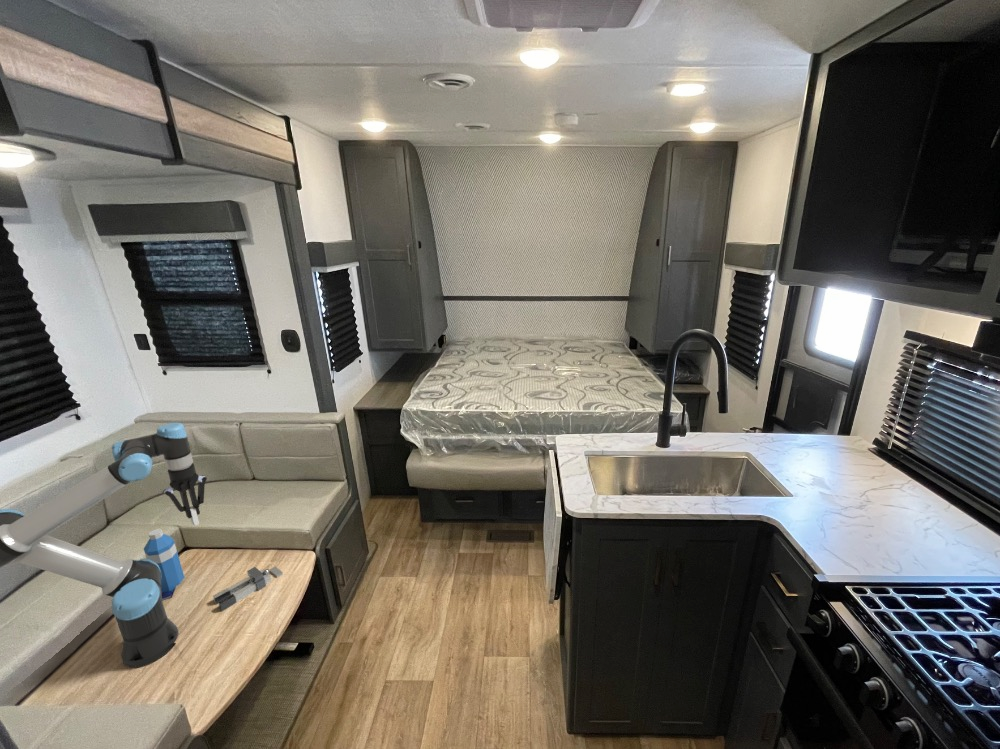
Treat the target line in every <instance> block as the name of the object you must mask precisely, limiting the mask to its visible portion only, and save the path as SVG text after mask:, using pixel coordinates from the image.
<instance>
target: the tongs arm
mask: <svg viewBox="0 0 1000 749" xmlns="http://www.w3.org/2000/svg"><path fill="white" fill-rule="evenodd" d="M259 571H260V572H262V573H263V576H264V575H266V574H267V573H268V574H269V575H270V576H271V574H270V569H269V568H266V569H265V568H262V569H261V570H259ZM252 582H254V580H253V579H251V578H250V577H249V576H247V577H246V578H244V579H242V580H241V581H238V582H236V583H235V584H233V585H231V586H229V587H226V588H225V589H223V590H221V591H220V592H219V591H218V592H217V593H216V594H213V595H212V597H213V600H214V603H215V605H219V604H218V602H220V601H222V600H223V599H225V598H227V597H228V596H230V595H232V594H234V593H235V592H237V591H239V590H240V589H242V588H244V587H245V586H247V585H249V584H251V583H252Z"/></svg>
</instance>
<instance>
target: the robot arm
mask: <svg viewBox="0 0 1000 749" xmlns="http://www.w3.org/2000/svg"><path fill="white" fill-rule="evenodd" d="M111 453H112V456H113V460H114V462H112V463H110V464H109V465H107V466H105V467H104V468H102V469H100V470H99V471H97V472H95V473H94V474H92V475H91V476H89V477H87V478H85V479H83V480H82V481H80V482H78V483H77V484H75V485H74V486H72V487H70V488H68V489H67V490H65V491H64V492H62V493H60V494H59V495H56V496H55V497H54V498H52V499H50V500H48V501H47V502H46V503H44V504H42V505H40V506H39V507H36V509H33V510H32V511H31V512H29V513H27V514H26V515H25V514H24V513H23V512H21V511H19V510H16V509H11V508H2V509H1V508H0V569H1V568H3V567H4V566H8V565H12V564H15V563H20V564H24V565H27V566H30V567H33V568H36V569H39V570H43V571H46V572H50V573H53V574H56V575H60V576H63V577H65V578H69V579H73V580H76V581H78V582H82V583H86V584H87V585H88V584H89V585H91V586H94V587H98V588H100V589H101V590H102V594H103V595H105V596H107V597H112V599H111V612H112V613H113V615H114V618H115V620H116V623H117V626H118V629H119V632H120V633H121V638H122V646H121V653H120V657H121V661H122V664H123V665H124V666H125V667H127V668H133V669H134V668H141V667H145V666H147V665H150V664H152V663H154V662H156V661H158V660H159V659H160V660H161V659H162V658H163V657H165V656H166V655H167V654H168V653H169V652H170V651H171V650H172V649H173V648H174V647H175V646H176V641H177V640H178V636H179V628H178V626H177V625H176V624H175V623H174V622H172V620H171V619H170V618H168V616H167V613H166V612H167V611H166V609H165V606H164V603H163V601H162V593H161V577H162V575H161V570H160V568H159V566H158V564H157V563H156V562H154V561H152V560H149V559H147V558H140V559H133V558H132V559H131V558H127V559H125V560H119V559H116V558H113V557H109V556H106V555H104V554H101V553H99V552H96V551H93V550H91V549H87V548H85V547H82V546H80V545H77V544H73V543H70V542H67V541H65V540H61V539H59V538H57V537H56V538H55V537H54V536H51V535H48V534H50V533H52V532H54V531H55V530H57V529H58V528H59V527H61V526H63V525H64V524H66V523H68V522H69V521H71V520H73V519H74V518H76V517H78V516H79V515H80V514H82V513H84V512H85V511H87V510H88V509H90V508H92V507H93V506H94V505H96V504H98V503H99V502H101V501H103V500H104V499H106V498H107V497H109V496H110V495H112V494H114V493H115V492H117V491H118V490H120V489H122V488H123V487H125V486H126V485H128V484H130V483H131V482H138V481H141V480H142V481H143V479H145V478H147V477H148V476H149V475H150V473H151V472H152V467H153V460H152V458H155V457H159V456H162V455H163V458H164V462H165V466H166V469H167V473H168V474H167V475H168V476H169V477H168V478H169V480H170V481H169V486H168V488H165V489H164V490H163V491H162V493H163V494H165V495H166V496H167V497H169V499H170V501H171V502H172V503H173V504H174V507H176V509H177V510H178V511H179V512H181V513H182V512H185V516H186V518H187V519H190V521H191V524H192V525H193V526H194V527H195V526H198V525H200V521H199V517H198V515H200V513H201V512H200V511H201V510H200V505H201V504H204V501H205V484H206V482H207V479H208V478H207V477H206V476H205V475H198V474H197V471H196V468H195V466H196V465H195V464H194V459H193V456H192V452H191V447H190V443H189V439H188V434H187V432H186V429H185V426H184V424H183V423H180V422H170V423H166V424H163V425H161V426H159V427H157V429H156V433H154V434H149V435H144V436H140V437H134V438H131V439H124V440H121V441H117V442H114V443H113V444H112V445H111ZM197 482H198V484H197V494H196V489H195V488H196V487H195V485H196V483H197ZM174 490H176V491H178V493H179V494H180V497H181V498H180V499H181V502H182V504H181V503H180V501H179V499H178V498H177V497H176V496H175V494H174ZM187 491H188V494H189V497H190V501H191V505H192V506H190V501H189V499H188V494H187Z"/></svg>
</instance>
